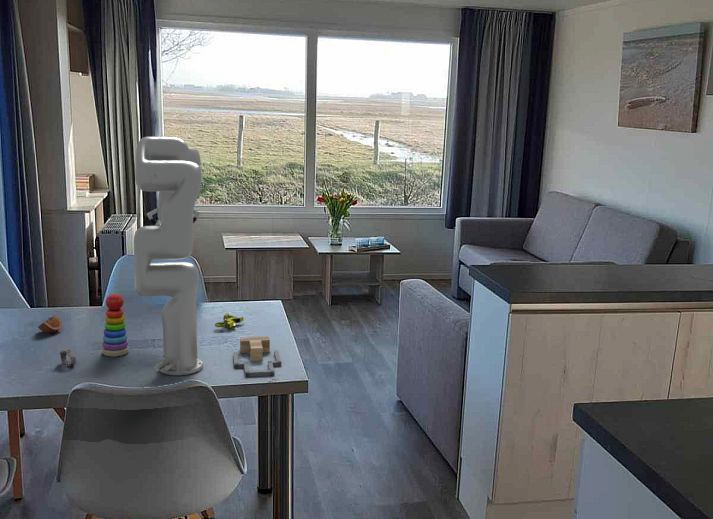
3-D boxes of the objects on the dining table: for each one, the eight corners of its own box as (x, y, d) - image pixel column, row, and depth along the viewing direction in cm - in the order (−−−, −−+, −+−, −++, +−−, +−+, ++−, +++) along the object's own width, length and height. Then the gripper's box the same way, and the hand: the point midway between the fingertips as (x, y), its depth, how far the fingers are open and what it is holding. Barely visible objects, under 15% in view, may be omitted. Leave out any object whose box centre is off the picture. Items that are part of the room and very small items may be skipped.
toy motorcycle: (226, 310, 245) (244, 312, 244) (225, 320, 246) (244, 322, 245) (213, 320, 234) (232, 322, 233) (213, 331, 235) (232, 333, 233)
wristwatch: (68, 360, 204) (67, 344, 203) (79, 366, 200) (78, 350, 199) (57, 364, 201) (56, 347, 200) (68, 369, 197) (66, 353, 196)
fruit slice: (53, 337, 224) (52, 322, 222) (33, 336, 224) (32, 321, 223) (65, 329, 232) (65, 314, 231) (46, 328, 232) (45, 313, 231)
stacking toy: (100, 358, 207) (97, 298, 202) (103, 349, 214) (100, 291, 210) (128, 356, 209) (126, 297, 205) (129, 347, 216) (127, 290, 212)
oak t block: (240, 349, 218) (240, 337, 217) (268, 348, 220) (268, 336, 219) (241, 361, 208) (241, 348, 207) (271, 360, 210) (271, 347, 209)
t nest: (233, 356, 212) (233, 352, 212) (278, 354, 215) (278, 350, 214) (235, 377, 196) (235, 373, 195) (284, 374, 198) (284, 370, 198)
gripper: (146, 188, 225) (148, 240, 229) (200, 188, 232) (201, 238, 235) (145, 186, 232) (146, 236, 236) (197, 185, 238) (198, 234, 242)
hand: (173, 237), depth 236 cm, fingers open, 9 cm apart
